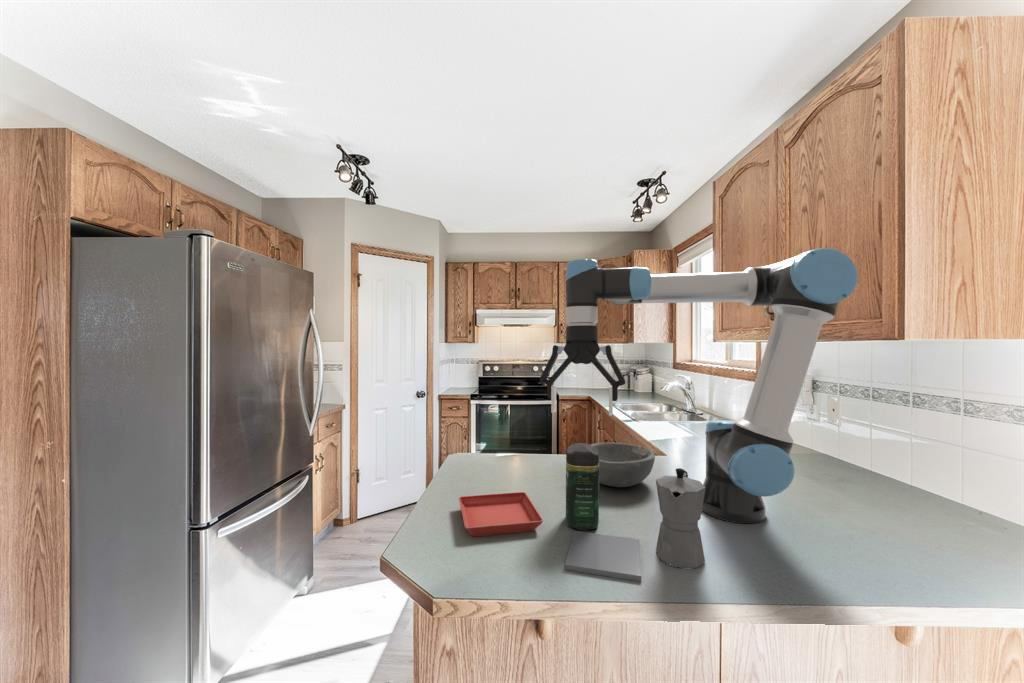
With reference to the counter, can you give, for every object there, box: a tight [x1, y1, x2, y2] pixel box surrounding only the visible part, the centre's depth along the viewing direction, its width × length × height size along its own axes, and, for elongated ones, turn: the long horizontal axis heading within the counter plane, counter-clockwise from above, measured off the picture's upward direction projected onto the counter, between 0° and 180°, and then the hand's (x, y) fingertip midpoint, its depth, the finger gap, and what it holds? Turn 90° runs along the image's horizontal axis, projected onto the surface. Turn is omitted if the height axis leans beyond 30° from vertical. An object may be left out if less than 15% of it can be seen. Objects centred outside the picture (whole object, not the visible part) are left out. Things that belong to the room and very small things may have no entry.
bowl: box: [590, 442, 656, 488], centre depth 125 cm, size 23×22×10 cm
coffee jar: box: [565, 442, 600, 531], centre depth 98 cm, size 10×8×19 cm
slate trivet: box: [564, 530, 642, 582], centre depth 83 cm, size 14×14×1 cm
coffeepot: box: [655, 467, 706, 569], centre depth 83 cm, size 15×9×18 cm, turn 151°
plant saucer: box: [458, 491, 544, 537], centre depth 99 cm, size 18×18×3 cm
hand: (581, 413), depth 98 cm, fingers open, 13 cm apart
